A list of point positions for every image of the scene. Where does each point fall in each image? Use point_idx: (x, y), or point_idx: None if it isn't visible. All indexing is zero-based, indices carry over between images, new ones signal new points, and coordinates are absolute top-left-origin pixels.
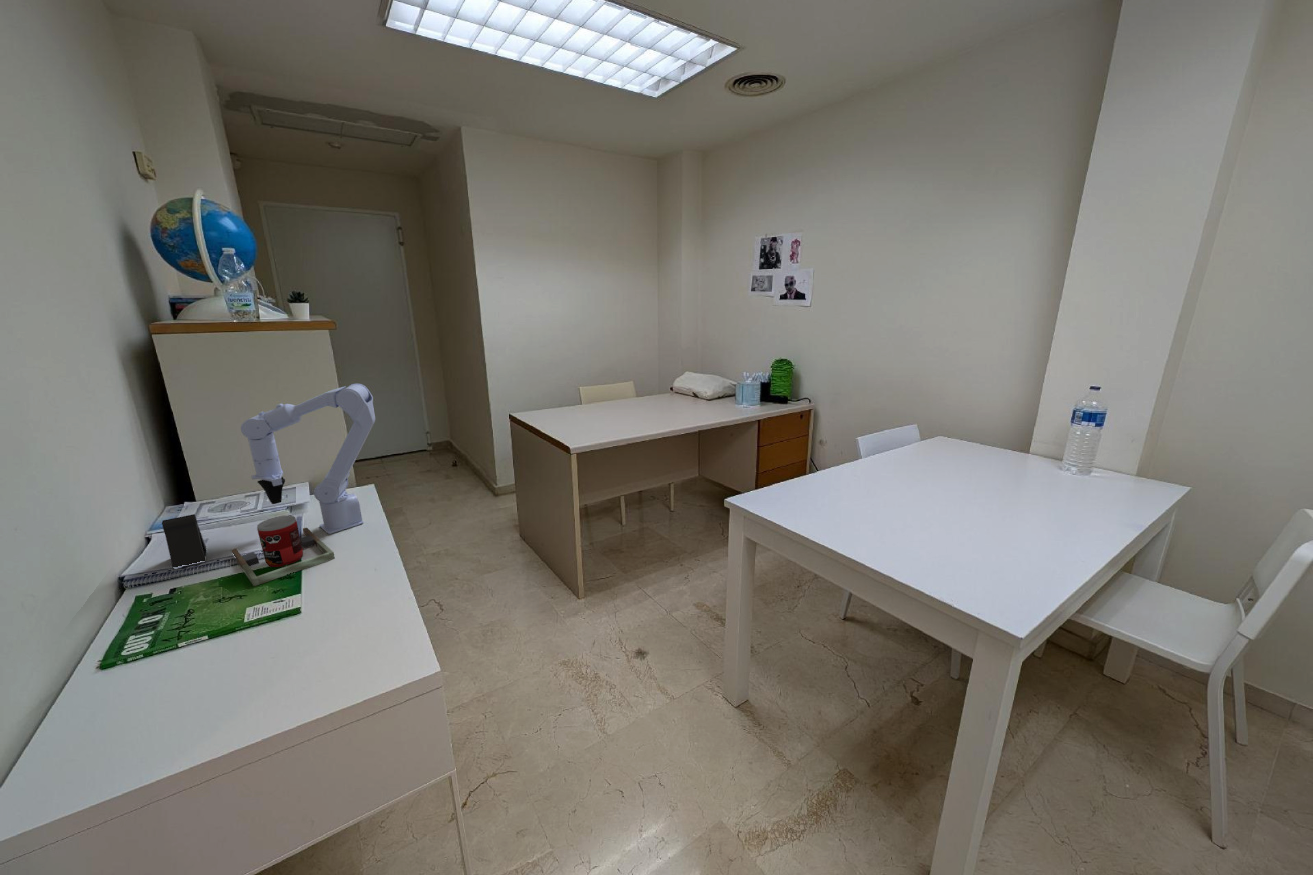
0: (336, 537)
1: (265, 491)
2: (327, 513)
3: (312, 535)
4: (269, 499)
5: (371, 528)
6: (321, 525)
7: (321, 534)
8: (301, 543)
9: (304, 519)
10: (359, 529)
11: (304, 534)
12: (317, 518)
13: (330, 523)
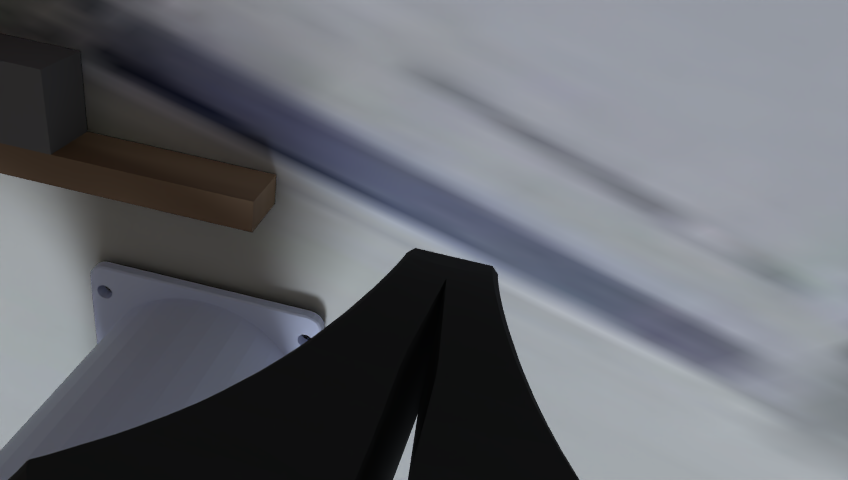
0: (9, 253)
1: (428, 407)
2: (44, 413)
3: (18, 160)
4: (432, 290)
5: (2, 422)
6: (291, 322)
7: (153, 235)
8: (7, 45)
9: (620, 346)
10: (41, 388)
11: (252, 171)
12: None
13: (102, 345)
